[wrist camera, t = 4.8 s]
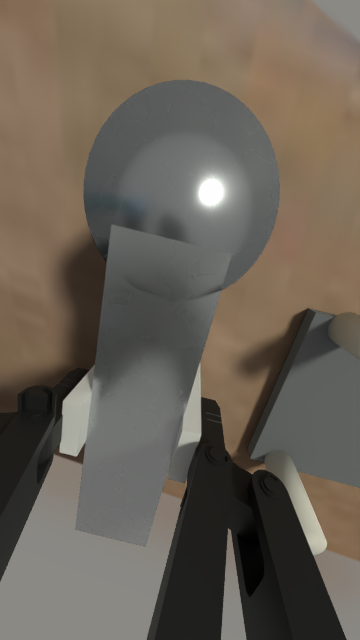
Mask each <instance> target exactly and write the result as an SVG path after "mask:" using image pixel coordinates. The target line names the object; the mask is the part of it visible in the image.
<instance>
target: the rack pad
mask: <svg viewBox="0 0 360 640" xmlns="http://www.w3.org/2000/svg"><path fill="white" fill-rule="evenodd" d="M248 452H249V456H250V459H253V460H257V461H261V462H265V466H266V469H267V471H269V472H271V473H273V474H274V475H275V476H277V477H278V478H279V479H280V480H281V481H282V483H283V484H284V485H285V487H286V489H287V491H288V493H289V496H290V498H291V501H292V503H293V506H294V508H295V511H296V513H297V516H298V518H299V521H300V523H301V526H302V528H303V531H304V534H305V536H306V539H307V541H308V544H309V546H310V549H311V551H312V554H313V555H316V554H319V553H321V552H323V551H324V550H325V549H326V547H327V541H326V539H325V536H324V534H323V532H322V529H321V527H320V525H319V522H318V520H317V517H316V515H315V513H314V510H313V508H312V505H311V503H310V501H309V498H308V496H307V494H306V491H305V489H304V486H303V484H302V482H301V479H300V477H299V474H298V472H302V473H306V474H310V475H313V476H317V477H321V478H325V479H329V480H332V481H336V482H340V483H344V484H347V485H351V486H355V487H359V488H360V315H358V314H355V313H350V312H348V313H342V314H340V315H334V314H330V313H326V312H322V311H318V310H313V309H309V308H308V311H307V313H306V315H305V317H304V320H303V322H302V324H301V327H300V329H299V331H298V333H297V336H296V338H295V340H294V343H293V345H292V347H291V349H290V352H289V354H288V356H287V359H286V361H285V363H284V365H283V368H282V370H281V372H280V375H279V377H278V379H277V381H276V384H275V386H274V388H273V391H272V393H271V395H270V397H269V400H268V402H267V404H266V407H265V409H264V411H263V413H262V416H261V418H260V420H259V423H258V425H257V427H256V429H255V432H254V434H253V436H252V439H251V441H250V443H249V445H248ZM297 471H298V472H297Z"/></svg>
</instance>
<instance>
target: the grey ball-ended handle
mask: <svg viewBox="0 0 360 640" xmlns="http://www.w3.org/2000/svg"><path fill="white" fill-rule="evenodd" d="M279 195H280V182H279V170H278V166H277V161H276V156H275V153H274V150H273V148H272V145H271V142H270V140H269V138H268V136H267V134H266V132H265V130H264V128H263V126H262V125H261V123H260V122H259V121H258V119H257V118H256V116H255V115H254V114H253V113H252V112H251V111H250V110H249V109H248V108H247V107H246V106H245V104H244V103H242V102H241V101H240V100H238V99H237V98H236V97H234V96H233V95H232V94H230V93H228V92H226V91H225V90H223V89H221V88H219V87H216V86H213V85H211V84H208V83H205V82H199V81H193V80H173V81H167V82H162V83H158V84H155V85H153V86H150V87H147V88H145V89H143V90H141V91H140V92H138V93H136V94H134V95H133V96H131V97H130V98H129V99H127V100H126V101H125V102H123V103H122V104H121V105H120V106H119V107H118V108H117V109H116V110H115V111H114V112H113V113H112V114H111V115H110V117H109V118H108V120H107V121H106V122H105V124H104V125H103V126H102V128H101V130H100V132H99V134H98V135H97V137H96V139H95V141H94V144H93V146H92V149H91V151H90V154H89V158H88V162H87V166H86V171H85V178H84V205H85V213H86V218H87V222H88V226H89V229H90V232H91V235H92V237H93V240H94V242H95V244H96V246H97V248H98V250H99V252H100V253H101V255H102V256H103V258H104V259H105V261H106V262H107V266H106V274H105V283H104V291H103V300H102V308H101V316H100V325H99V333H98V342H97V350H96V359H95V367H94V376H93V384H92V395H91V403H90V412H89V420H88V429H87V437H86V443H85V452H84V460H83V469H82V477H81V486H80V494H79V502H78V511H77V521H76V530H79V531H83V532H87V533H91V534H95V535H99V536H103V537H107V538H111V539H116V540H120V541H124V542H128V543H132V544H136V545H140V546H144V547H145V546H146V543H147V540H148V536H149V533H150V529H151V526H152V522H153V519H154V516H155V512H156V509H157V506H158V502H159V499H160V496H161V492H162V489H163V485H164V482H165V479H166V475H167V472H168V468H169V465H170V460H171V456H172V453H173V449H174V446H175V443H176V439H177V436H178V432H179V429H180V426H181V422H182V419H183V415H184V414H185V411H186V408H187V404H188V401H189V397H190V394H191V391H192V387H193V384H194V380H195V377H196V374H197V370H198V367H199V364H200V360H201V357H202V353H203V350H204V347H205V343H206V340H207V336H208V333H209V330H210V326H211V323H212V320H213V316H214V313H215V309H216V306H217V303H218V299H219V296H220V293H221V290H223V289H225V288H227V287H228V286H230V285H231V284H233V283H234V282H236V281H237V280H238V279H239V278H240V277H242V276H243V275H244V274H245V273H246V272H247V271H248V270H249V269H250V268H251V266H252V265H253V264H254V263H255V262H256V260H257V259H258V257H259V256H260V255H261V253H262V251H263V250H264V248H265V246H266V244H267V242H268V240H269V238H270V235H271V233H272V230H273V228H274V224H275V220H276V217H277V212H278V206H279Z"/></svg>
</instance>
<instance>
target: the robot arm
mask: <svg viewBox="0 0 360 640" xmlns="http://www.w3.org/2000/svg"><path fill="white" fill-rule="evenodd" d="M94 367H95V365H94V366H93V367H92V368H91V370H85V369H81V368H77V369H75V370H73V371H71V372H69V373H68V374H67V375H66V376H65V377H64V379H62V380H61V381H60V382H59V384H57V385H56V386H55V387H54V388H52V387H49V386H33V387H29V388H27V389H25V390H23V391H22V392H20V393H19V394H18V412H13V413H0V581H1V578H2V576H3V574H4V572H5V569H6V567H7V565H8V562H9V560H10V557H11V556H12V553H13V551H14V548H15V546H16V544H17V542H18V539H19V537H20V535H21V532H22V530H23V528H24V525H25V523H26V521H27V519H28V517H29V514H30V512H31V510H32V507H33V505H34V503H35V500H36V498H37V496H38V494H39V491H40V489H41V487H42V484H43V482H44V479H45V477H46V475H47V473H48V470H49V468H50V466H51V464H52V461H53V453H54V451H55V450H56V448H57V447H58V445H59V444H60V453H64V454H68V455H72V456H76V457H77V455H78V453H79V452H80V450H81V448H82V447H83V445H84V443H85V441H86V437H87V429H88V420H89V412H90V403H91V395H92V384H93V376H94ZM221 423H222V421H221V413H220V408H219V406H218V404H217V403H216V401H215V400H211V399H207V398H203V397H201V380H200V364H199V367H198V370H197V374H196V377H195V380H194V384H193V387H192V391H191V394H190V397H189V401H188V404H187V408H186V411H185V414H184V415H183V419H182V422H181V426H180V429H179V432H178V436H177V439H176V443H175V446H174V449H173V453H172V456H171V460H170V466H169V473H168V479H170V480H174V481H178V482H183V483H185V482H186V479H187V488H186V491H185V493H184V496H183V499H182V502H181V505H180V507H181V509H180V513H179V516H178V520H177V524H176V528H175V532H174V536H173V540H172V544H171V548H170V551H169V555H168V559H167V563H166V567H165V571H164V575H163V579H162V582H161V586H160V591H159V594H158V598H157V602H156V606H155V610H154V613H153V617H152V621H151V625H150V629H149V633H148V637H147V640H221V627H222V612H223V596H224V581H225V565H226V550H227V535H228V528H229V529H230V530H231V533H232V541H233V548H234V555H235V562H236V569H237V576H238V583H239V589H240V596H241V603H242V609H243V617H244V624H245V631H246V638H247V640H346V637H345V635H344V632H343V630H342V627H341V625H340V622H339V620H338V617H337V614H336V612H335V609H334V607H333V604H332V602H331V599H330V597H329V595H328V592H327V589H326V587H325V584H324V582H323V579H322V577H321V574H320V572H319V569H318V566H317V564H316V561H315V559H314V556H313V554H312V551H311V549H310V546H309V544H308V541H307V539H306V536H305V534H304V531H303V528H302V526H301V523H300V521H299V518H298V516H297V513H296V511H295V508H294V506H293V503H292V501H291V498H290V496H289V493H288V491H287V489H286V487H285V485H284V484H283V483H282V481H281V480H280V479H279V478H278V477H277V476H275V475H274V474H273V473H271V472H269V471H266V470H257V471H256V472H254V474H253V475H252V474H251V473H249V472H247V471H245V470H244V469H242V468H240V467H239V466H237V465H236V464H235V463H234V462H233V461H232V460H231V457H230V455H229V453H228V452H227V451H226V449H225V444H224V436H223V428H222V424H221ZM187 476H188V477H187Z"/></svg>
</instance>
